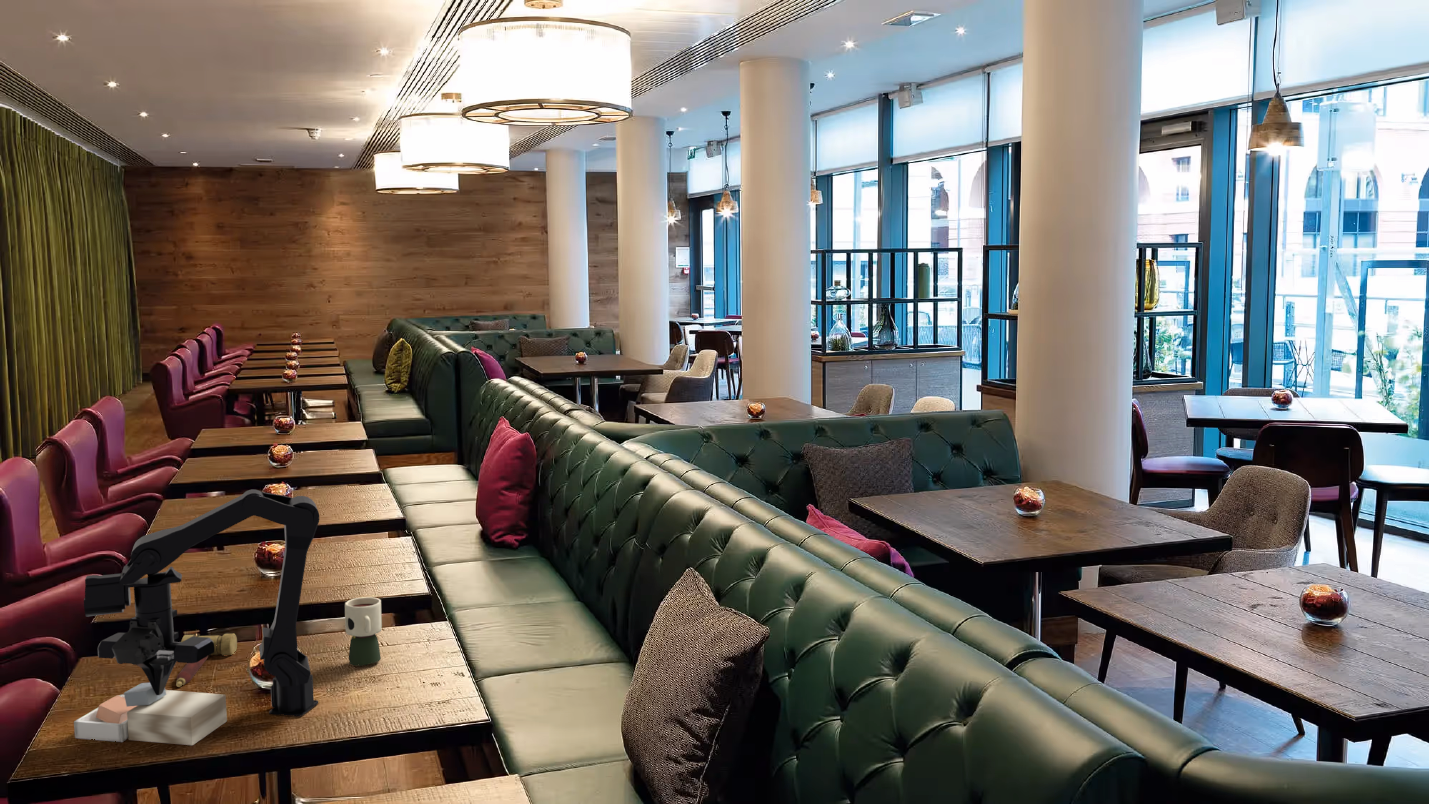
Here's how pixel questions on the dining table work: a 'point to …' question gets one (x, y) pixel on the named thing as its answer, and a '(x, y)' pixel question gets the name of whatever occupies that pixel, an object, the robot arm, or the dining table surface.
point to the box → (100, 728)
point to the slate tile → (142, 695)
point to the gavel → (224, 647)
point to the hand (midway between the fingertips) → (159, 694)
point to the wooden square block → (177, 718)
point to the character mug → (363, 629)
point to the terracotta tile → (114, 710)
